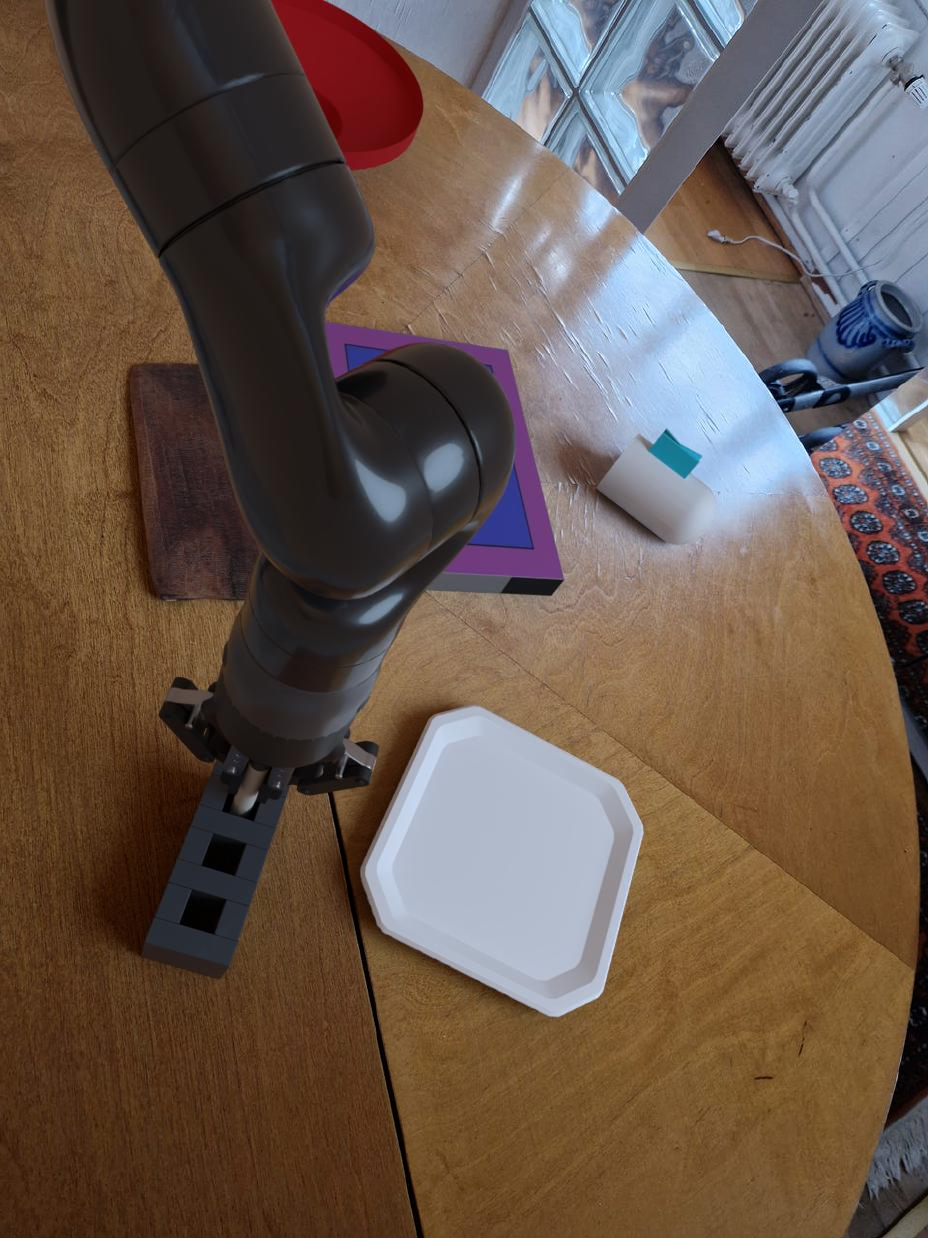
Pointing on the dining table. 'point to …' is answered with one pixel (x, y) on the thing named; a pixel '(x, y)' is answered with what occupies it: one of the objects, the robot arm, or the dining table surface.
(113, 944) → the dining table surface
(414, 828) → the plate
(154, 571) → the wooden tablet
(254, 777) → the stylus
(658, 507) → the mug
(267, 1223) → the dining table surface
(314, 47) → the bowl
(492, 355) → the book
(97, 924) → the dining table surface
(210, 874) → the pen block
